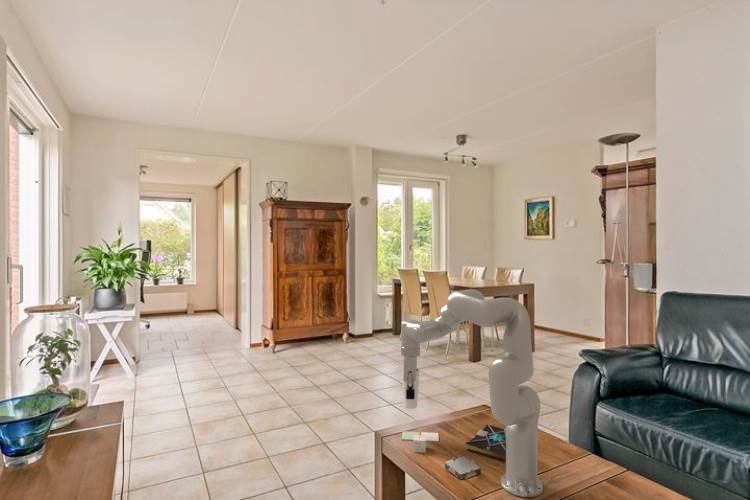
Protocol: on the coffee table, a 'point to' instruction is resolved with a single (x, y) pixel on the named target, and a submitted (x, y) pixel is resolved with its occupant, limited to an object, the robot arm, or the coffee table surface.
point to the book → (489, 442)
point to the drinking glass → (413, 402)
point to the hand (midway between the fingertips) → (410, 395)
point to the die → (419, 443)
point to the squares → (429, 436)
